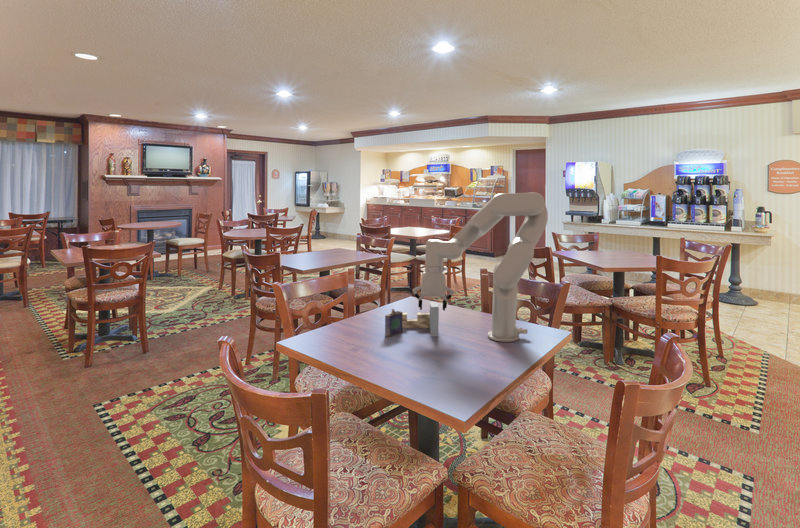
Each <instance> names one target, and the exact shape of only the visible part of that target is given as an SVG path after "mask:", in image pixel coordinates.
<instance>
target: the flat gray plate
mask: <svg viewBox="0 0 800 528" xmlns="http://www.w3.org/2000/svg"><path fill="white" fill-rule="evenodd" d="M439 309H440V308H439V305H438V302H437V301H429V313H430V328H429V331H430V336H431V337H439V319H440V317H439V315H440V314H439V313H440V312H439V311H440V310H439Z"/></svg>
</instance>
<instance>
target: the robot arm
mask: <svg viewBox="0 0 800 528" xmlns="http://www.w3.org/2000/svg"><path fill="white" fill-rule="evenodd" d="M548 214H549V213H548V210H547V206H546V200H545V197H544V196H543V195H542V194H541V193H539V192H537V191H536V192H535V191H530V192H516V193H509V192H508V193H507V192H506V193H505V192H504V193H503V192H501V193H497V194H494V196H493V197H491V198H490V199H489V201H487V202H486V203H485V204H484V205H483V206H482V207H481V208H480V209H479V210H478V211H476V213H475V214H474V215H473V216H471V218H470V219H469V220H467V223H465V225H464V226H463V227H462V228H461V229H460V230H458V232H457V233H456V234H455V235H453V237H452V238H451V239H450V240H448V241H443V240H442V239H436V238H434V239H433V238H432V239H428V240H427V241H426V243H425V260H424V261H425V262H424V263H425V265H424V271H423V272H422V274H421V275H422V276H421V282H420V285H418V286H417V287H414V288H413V289H412V292H413V295H414V297H415V298H416V299H417V300H418V308H419V310H420V311H422V309H423V298H424V297H429V298H430V297H433V298H439V297H440V298H441V297H442V310H443V311H446V309H447V305H448V304H447V303H448V300H450V299H451V298H452V296H453V294H454V293H455V291H454V289H452V288H450V287H448V286H447V285H446V274H445V272H444V271H447V270H448V267H447V266H445V265H444V261H445V259H447V260H457V259H460V257H461V256H462V254H463V253H464V252H465V251H466V250H467V249H468V248H469V247H471V245H472V244H474V242H475V241H477V240H478V239H480V238H481V237H483V236H485V235H486V234H487V233H488V232H489V231H490V230H491V229H493V228H494V227H495V226H496V224H498V223H499V222H500V221H501V220H502V219H504V217H523V216H524V220H523V222H522V224H521V225H520V227H519V229H518V231H517V233H516V234H515V236H514V237H513V239H512V240H511V242H510V243H509V244H508V246H507V251H506V253H505V254H504V255H503V258H502V259H501V261H499V262H497V264H495V266H494V268H493V274H492V275H493V276H492V277H493V278H492V279H493V281H492V304H491V305H492V306H491V307H492V309H491V310H492V311H491V330H489V331H488V332H487V338H488V339H490V340H492V341H497V342H503V343H510V342H516V341H519V339H520V334H523V335H527V334H528V333H529V332H528V331H529V330H528V328H524V327H523V328H522V327H517V326H516V324H517V305H518V303H517V302H518V283H519V281H520V280H521V278H522V277H523V276H524V274H525V272H526V271H527V269H528V267H529V265H530V264H531V262H532V260H533V259H534V255H535V247H536V245H537V244H538V242H539V241H540V239H541V237H542V235H543V234H544V232H545V229H546V227H547V225H548V219H549V218H548V217H549V215H548ZM418 291H420V294H418ZM446 291H447V292H449V293H448V294H447V295H446Z"/></svg>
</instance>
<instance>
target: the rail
mask: <svg viewBox="0 0 800 528" xmlns="http://www.w3.org/2000/svg"><path fill="white" fill-rule="evenodd" d="M390 313H391V312H389V313H388V314H390ZM416 316H417V317H416V318H414V319H413V318H412V319H411V318H409V319H408V312H402V329H403V328H404V329H406V328H407V329H408V328H409V329H411V328H412V329H414V328H415V329H418V328H419V329H421V328H422V329H428V328H429V329H430V312H417V313H416Z"/></svg>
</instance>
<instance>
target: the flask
mask: <svg viewBox="0 0 800 528" xmlns="http://www.w3.org/2000/svg"><path fill="white" fill-rule="evenodd" d="M390 311H391V312H389V313H390V314H389V313H386V314H385V316H384V328H385V329H384V335H385V337H388V338H389V337H392V336H396V335H400V334H402V333H403V328H402V313H403V312H402V311H399V310H395V309H394V308H391V309H390Z"/></svg>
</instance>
